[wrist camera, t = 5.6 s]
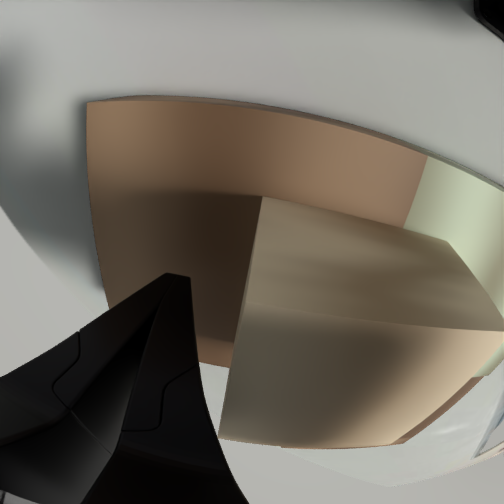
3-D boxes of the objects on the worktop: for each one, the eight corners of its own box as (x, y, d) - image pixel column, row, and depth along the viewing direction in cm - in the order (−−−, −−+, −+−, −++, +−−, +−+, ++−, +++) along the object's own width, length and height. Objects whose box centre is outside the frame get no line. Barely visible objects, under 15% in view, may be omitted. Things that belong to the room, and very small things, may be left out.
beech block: (447, 241, 7) (511, 331, 4) (374, 360, 11) (389, 444, 7) (262, 196, 7) (246, 301, 4) (234, 343, 11) (217, 438, 7)
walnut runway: (591, 252, 9) (609, 272, 6) (479, 403, 20) (486, 424, 17) (133, 95, 9) (86, 102, 6) (159, 392, 20) (148, 423, 17)
